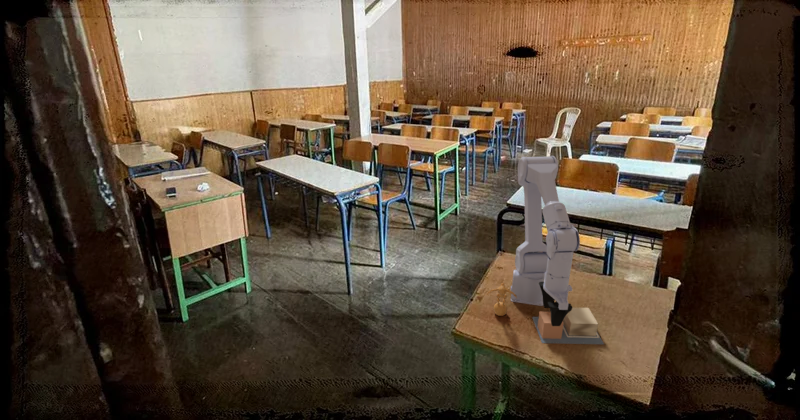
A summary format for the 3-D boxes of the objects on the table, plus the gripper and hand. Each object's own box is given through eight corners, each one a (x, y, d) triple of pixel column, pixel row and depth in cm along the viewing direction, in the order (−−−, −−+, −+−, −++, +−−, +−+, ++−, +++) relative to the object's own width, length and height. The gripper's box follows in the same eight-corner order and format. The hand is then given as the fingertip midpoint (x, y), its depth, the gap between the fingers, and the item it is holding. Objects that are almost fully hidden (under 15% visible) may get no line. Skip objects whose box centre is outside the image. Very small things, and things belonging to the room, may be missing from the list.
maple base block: (569, 335, 112) (571, 323, 110) (561, 319, 118) (563, 307, 117) (595, 335, 111) (598, 323, 110) (586, 319, 118) (588, 307, 116)
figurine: (514, 312, 122) (518, 277, 118) (514, 325, 117) (518, 289, 112) (485, 308, 124) (488, 274, 119) (484, 321, 119) (487, 285, 114)
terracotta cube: (542, 338, 111) (544, 323, 109) (537, 326, 116) (539, 311, 114) (561, 338, 111) (563, 323, 109) (555, 326, 115) (558, 311, 113)
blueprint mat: (541, 344, 110) (542, 342, 109) (531, 317, 120) (532, 316, 119) (604, 345, 109) (604, 344, 108) (588, 318, 119) (589, 317, 119)
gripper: (584, 288, 99) (576, 334, 104) (565, 258, 112) (558, 300, 117) (553, 287, 99) (547, 333, 104) (538, 257, 113) (533, 299, 118)
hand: (551, 316), depth 111 cm, fingers open, 7 cm apart
